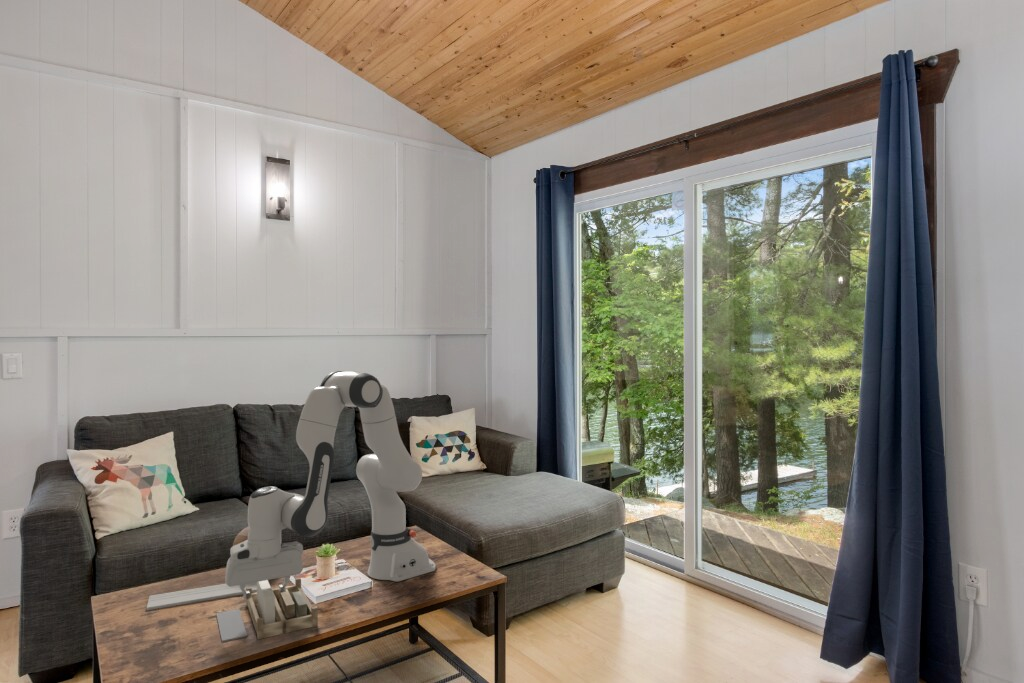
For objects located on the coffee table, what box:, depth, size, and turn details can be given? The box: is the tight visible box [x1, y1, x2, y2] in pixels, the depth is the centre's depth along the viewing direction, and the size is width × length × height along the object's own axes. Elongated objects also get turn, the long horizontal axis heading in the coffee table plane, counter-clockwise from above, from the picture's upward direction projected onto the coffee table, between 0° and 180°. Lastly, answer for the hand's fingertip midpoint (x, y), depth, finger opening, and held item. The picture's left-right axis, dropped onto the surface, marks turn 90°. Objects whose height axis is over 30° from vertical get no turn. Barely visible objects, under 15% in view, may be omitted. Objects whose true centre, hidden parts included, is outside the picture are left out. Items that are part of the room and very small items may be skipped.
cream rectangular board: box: [256, 580, 276, 625], centre depth 178 cm, size 2×16×9 cm, turn 29°
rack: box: [245, 576, 319, 640], centre depth 180 cm, size 15×24×5 cm, turn 29°
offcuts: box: [278, 589, 307, 619], centre depth 183 cm, size 5×16×4 cm, turn 29°
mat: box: [216, 608, 248, 643], centre depth 174 cm, size 6×18×1 cm, turn 29°
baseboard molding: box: [146, 582, 257, 611], centre depth 195 cm, size 31×3×12 cm
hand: (264, 595), depth 178 cm, fingers open, 8 cm apart
